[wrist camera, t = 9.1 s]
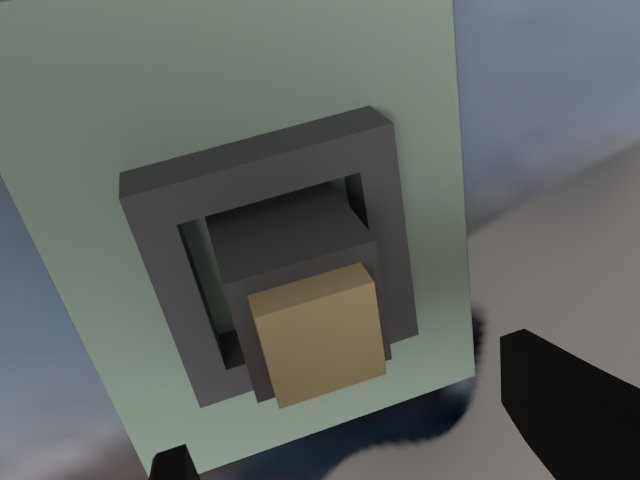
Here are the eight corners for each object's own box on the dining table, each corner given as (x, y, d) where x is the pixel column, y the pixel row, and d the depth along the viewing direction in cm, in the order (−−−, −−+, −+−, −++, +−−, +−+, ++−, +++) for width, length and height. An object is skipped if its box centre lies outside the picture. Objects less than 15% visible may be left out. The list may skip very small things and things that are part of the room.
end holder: (153, 469, 24) (156, 533, 22) (-65, 14, 15) (-103, 31, 13) (463, 361, 27) (499, 407, 24) (431, -94, 18) (482, -97, 15)
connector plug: (230, 305, 21) (264, 429, 16) (201, 204, 19) (228, 307, 14) (339, 273, 21) (405, 381, 16) (321, 171, 19) (391, 258, 14)
